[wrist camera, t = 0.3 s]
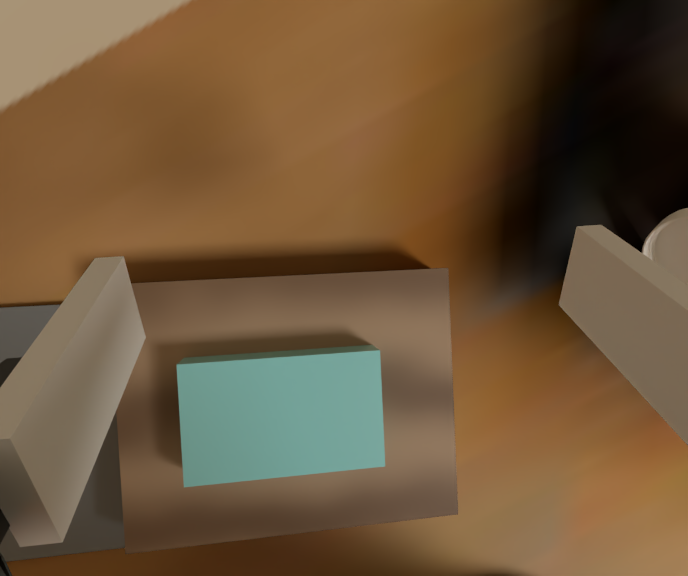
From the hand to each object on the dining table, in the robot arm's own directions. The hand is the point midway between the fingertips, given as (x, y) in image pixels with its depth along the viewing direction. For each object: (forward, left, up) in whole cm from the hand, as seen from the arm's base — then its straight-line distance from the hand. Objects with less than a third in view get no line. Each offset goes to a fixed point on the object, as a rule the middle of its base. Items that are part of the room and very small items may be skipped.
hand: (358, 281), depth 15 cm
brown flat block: (-7, +2, -15) cm, 17 cm away
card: (-7, +2, -11) cm, 13 cm away
